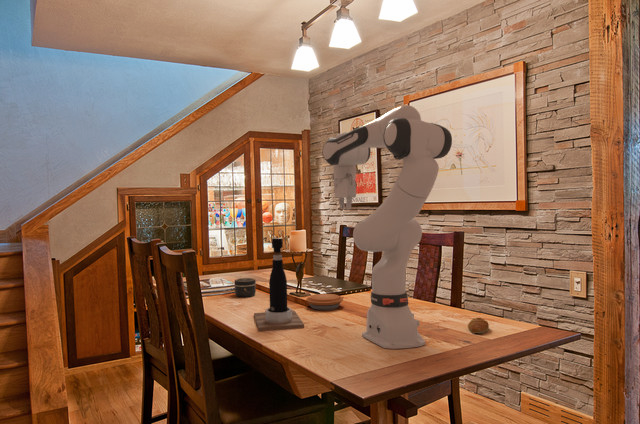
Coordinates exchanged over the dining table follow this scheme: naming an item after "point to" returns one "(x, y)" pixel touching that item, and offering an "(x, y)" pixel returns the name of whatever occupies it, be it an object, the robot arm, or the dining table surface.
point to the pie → (324, 301)
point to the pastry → (478, 326)
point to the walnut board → (266, 326)
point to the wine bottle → (278, 280)
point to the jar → (245, 287)
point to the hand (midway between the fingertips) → (345, 209)
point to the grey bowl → (278, 316)
